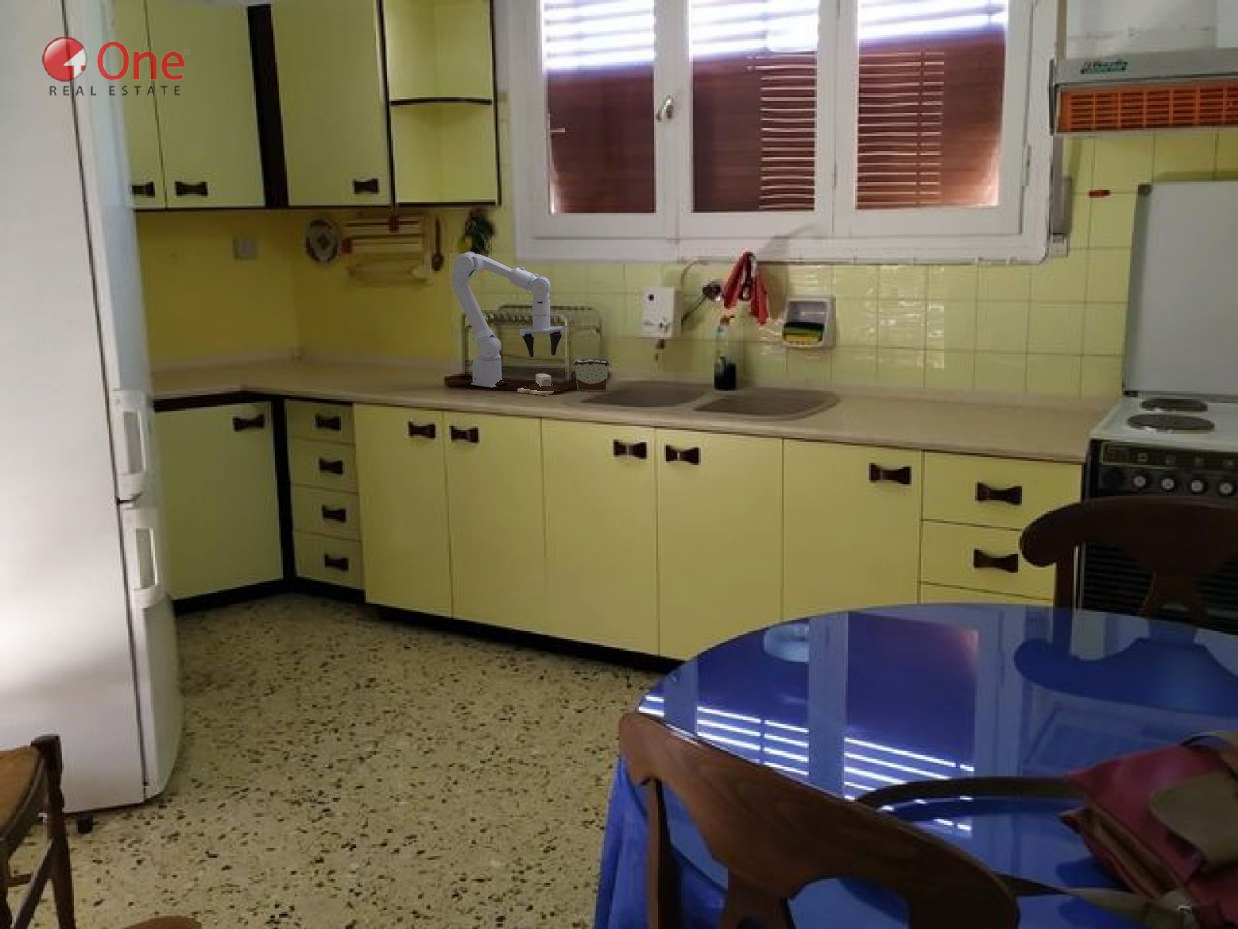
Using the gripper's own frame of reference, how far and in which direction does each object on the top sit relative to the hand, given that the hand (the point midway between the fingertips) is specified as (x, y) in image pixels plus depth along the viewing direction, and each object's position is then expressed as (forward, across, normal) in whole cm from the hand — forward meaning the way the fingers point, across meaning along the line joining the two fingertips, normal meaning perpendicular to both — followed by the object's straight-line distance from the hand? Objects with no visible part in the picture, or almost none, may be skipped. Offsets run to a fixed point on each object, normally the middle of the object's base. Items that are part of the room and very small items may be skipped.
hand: (542, 355), depth 386 cm
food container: (+10, +13, -12) cm, 20 cm away
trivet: (+10, -3, -9) cm, 14 cm away
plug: (+9, -3, -9) cm, 13 cm away
